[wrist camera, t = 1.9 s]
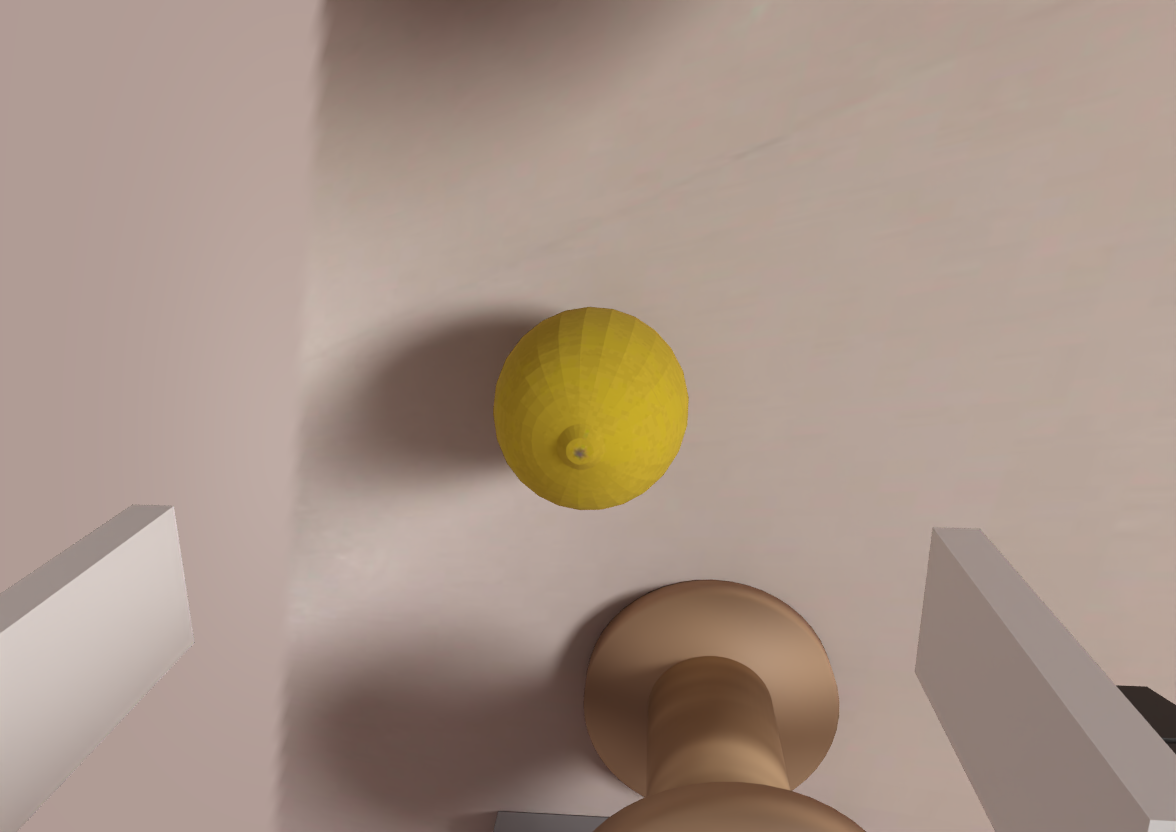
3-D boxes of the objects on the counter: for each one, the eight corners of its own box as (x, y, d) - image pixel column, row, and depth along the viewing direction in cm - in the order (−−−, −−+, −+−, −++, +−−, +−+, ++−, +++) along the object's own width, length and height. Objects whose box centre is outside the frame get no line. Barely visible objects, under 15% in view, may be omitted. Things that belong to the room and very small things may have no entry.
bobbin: (585, 575, 31) (546, 807, 20) (843, 584, 30) (946, 829, 19) (586, 784, 34) (552, 1089, 23) (822, 796, 33) (904, 1117, 22)
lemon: (493, 412, 29) (436, 505, 22) (554, 260, 28) (515, 304, 20) (643, 475, 30) (639, 588, 22) (712, 328, 28) (733, 395, 20)
